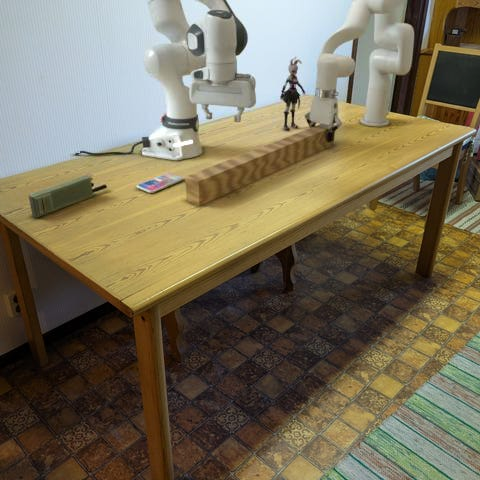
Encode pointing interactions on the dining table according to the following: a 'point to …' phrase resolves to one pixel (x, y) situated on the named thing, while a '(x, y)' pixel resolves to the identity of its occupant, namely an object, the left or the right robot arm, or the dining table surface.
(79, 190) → the handheld radio
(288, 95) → the figurine
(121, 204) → the dining table surface
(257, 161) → the block
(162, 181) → the smartphone
